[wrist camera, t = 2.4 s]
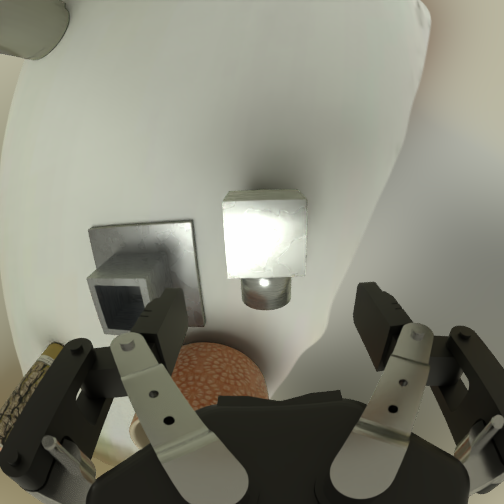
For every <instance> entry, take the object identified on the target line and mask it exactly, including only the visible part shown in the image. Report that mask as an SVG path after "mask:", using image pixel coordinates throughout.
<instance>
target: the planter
mask: <svg viewBox="0 0 504 504" xmlns="http://www.w3.org/2000/svg"><path fill="white" fill-rule="evenodd" d="M171 378H172V379H173V381H174V382H175V384H176V385H177V387H178V388H179V390H180V391H181V393H182V394H183V396H184V397H185V398H186V400H187V401H188V403H189V404H190V406H191V407H192V408H193V410H194V411H196V410H198V409H200V408H203V407H206V406H210V405H214V404H217V402H218V395H221V396H252V397H257V398H263V399H269V396H268V391H267V386H266V382H265V379H264V377H263V375H262V373H261V371H260V369H259V368H258V367H257V365H256V364H255V363H254V362H253V361H252V360H251V359H250V358H249V357H247V356H246V355H245V354H243V353H241V352H240V351H238V350H236V349H234V348H231V347H229V346H226V345H222V344H217V343H210V342H198V343H191V344H187V345H183V346H181V349H180V352H179V355H178V358H177V361H176V364H175V367H174V370H173V373H172V376H171ZM129 432H130V436H131V439H132V441H133V442H134V444H135V445H136V446H137V447H138V448H139V449H140V450H141V449H142V448H144V447H145V446H146V445H148V444H149V443H150V441H149V439H148V437H147V435H146V433H145V431H144V429H143V427H142V425H141V423H140V421H139V419H138V417H137V415H136V413H135V415H134V417H133V420H132V422H131V425H130V430H129Z"/></svg>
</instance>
